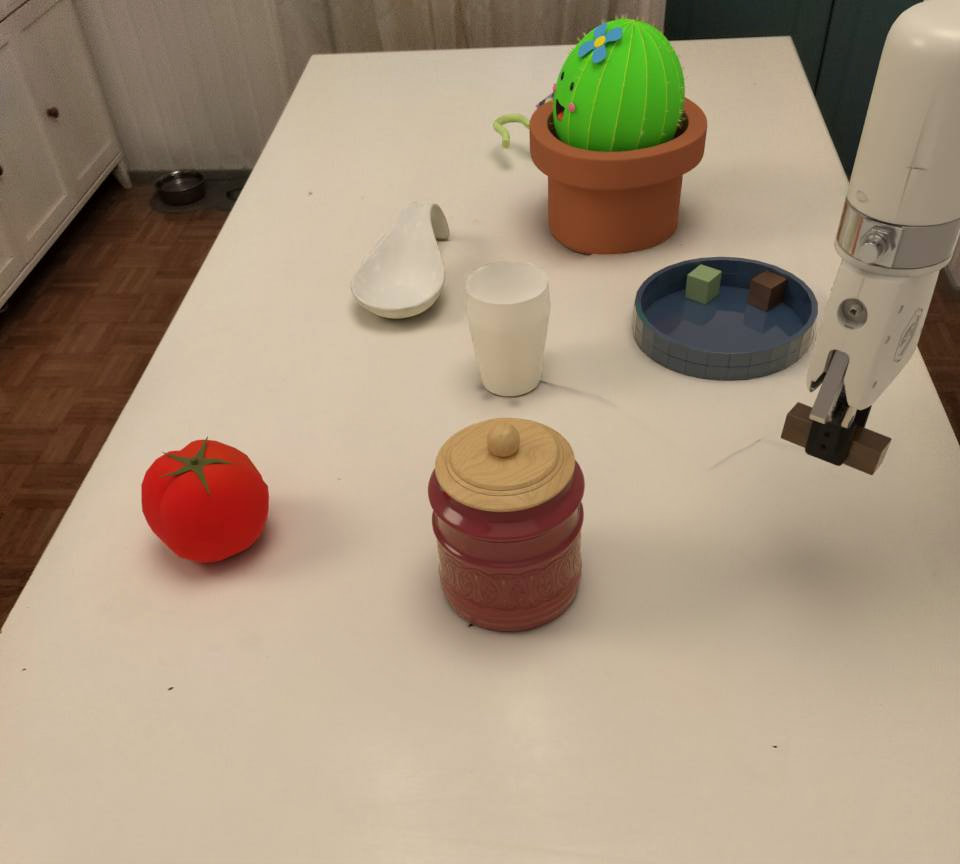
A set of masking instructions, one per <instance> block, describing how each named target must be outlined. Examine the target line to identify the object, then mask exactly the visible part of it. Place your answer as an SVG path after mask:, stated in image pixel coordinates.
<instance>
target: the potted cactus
mask: <svg viewBox="0 0 960 864" xmlns="http://www.w3.org/2000/svg"><path fill="white" fill-rule="evenodd" d="M615 14H616V15H615ZM615 14H614V17H615V19H613V20H610V21H606V20H605V19H604V18H603V17H602V19H601V21H600V22H601V24H599V25H598V26H596V27H595V28H593V29H592V30H590V31H589V32H587V34H586V33H585V32H584V30H583V32H581V34H583V38H582V39H580V38H579V37H577V38H576V40H577V41H579V42H578V43H576V45H575V46H574V47H573V48H572V47H571V45H569V48H567V49H568V51H567V50H566V51H565V52H566V54H567V55H568V56H567V57H566V59H565V61H564V62H563V64H562V66H561V69H560V71H559V74H558V76H557V80H556V83H553V86H552V92H554V99H553V100H551V101H549V102H547V103H545V104H543V105H542V106H540V107H539V108H538V109H537V108H536V109H535V110H534V111H533V113H532V115H531V117H530V119H529V120H530V123H529V129H528V130H529V155H530V158H531V161H532V163H533V164H534V166H535V167H536V168H537V169H538V171H540V172H541V173H542V174H543V175H545V176H546V177H547V223H548V228H549V231H550V232H551V234H552V235H553V237H554V238H555V240H557V241H558V242H559V243H560V244H562V245H563V246H564V247H566V248H568V249H570V250H572V251H573V252H574V251H575V252H577V253H581V254H584V255H589V256H591V255H608V256H609V255H623V254H630V253H636V252H640V251H644V250H647V249H650V248H653V247H656V246H659V245H660V244H662V243H665V242H666V241H667V240H669V239H670V238H671V237H672V236H673V235H674V233H675V232H676V230H677V228H678V223H679V215H680V214H679V213H680V204H681V196H682V195H681V194H682V186H683V177H684V175H685V174H687V173H689V172H691V171H693V170H695V168H696V167H697V166H698V165H699V164H700V163H701V161H702V160H703V158H704V155H705V147H706V141H707V133H708V132H707V131H708V118H707V115H706V114H705V112H704V110H703V109H702V108H701V107H700V106H699V105H698V104H697V103H695V102H694V101H692V100H691V99H690V98H687V97H685V96H686V89H685V88H687V87H688V88H689V85H686V84H685V80H686V79H689V75H686V77H684V71H683V70H685V69H686V68H687V69H688V66H686V65H685V66H684V65H683V67H682V64H681V61H680V59H679V58H681V57H682V55H679V54H677V52H676V49H677V48H678V46H675V47H673V46H672V44H671V42H670V40H669V39H668V38H667V37H666V35H664V32H665V30H661V31H660V30H659V29H658V28H656V27H655V25H656V21H653V23H652V25H651V24H650V23H649V22H648V23H647V22H646V21H645V18H644V16H641V20H639V16H640V14H638V15H636V19H634V18H628V12H626V15H625V16H624V13H621V14H620V18H619V17H618V13H615ZM623 16H624V17H623ZM685 85H686V86H685Z"/></svg>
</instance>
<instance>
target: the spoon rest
mask: <svg viewBox="0 0 960 864" xmlns="http://www.w3.org/2000/svg"><path fill="white" fill-rule="evenodd" d="M450 235H451V234H450V227H449V224H448V220H447V217H446V215H445V213H444V211H443V209H442V208H441V206H440V205H439V204H438V203H436V202H430V203H425V204H424V203H421V202H417V201H411V202H409V203H408V204H406V206H405V207H404V209H402V211H401V212H400V214H399V216H398V217H397V219H396V220H395V221H394V223H393V224H392V225H391V227H390V228H389V229H388V230H387V232H386V233H385V234H384V236H383V237H382V238H381V239H379V241H378V243H377V244H376V245H375V246H374V247H373V248H372V249H371V250H370V251H369V253H368V254H367V255H366V256H365V258H364V259H363V260H362V261H361V263H360V264H359V265H358V267H357V268H356V270H355V271H354V273H353V275H352V277H351V281H350V291H351V294H352V296H353V298H354V299H355V301H356V302H357V303H358V304H359V305H360V306H361V307H362V308H364V309H366V310H367V311H368V312H370V313H372V314H374V315H376V316H379V317H382V318H386V319H405V318H410V317H414V316H417V315H420V314H421V313H424V312H425V311H427V310H428V309H429V308H430V307H432V306H433V305H434V303H435V302H436V301H437V300H438V299H439V297H440V295H441V293H442V292H443V288H444V286H445V282H446V269H445V263H444V260H443V256H442V253H441V249H440V247H439V244H438V241H437V240H445V239H448V238H450V237H451V236H450Z"/></svg>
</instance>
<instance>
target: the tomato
mask: <svg viewBox="0 0 960 864" xmlns="http://www.w3.org/2000/svg"><path fill="white" fill-rule="evenodd" d="M208 438H209V436H208V435H207V436H206V438H205V439H196V440H192V441H190V442H189V443H188V444H186V445H185V446H184V447H183V448H181V449H180V450H179V449H178V450H171V451H170V450H169V451H167V452H164V451H162V455H161V456H159V457H157V458H156V459H154V461H153V462H152V463H151V464H150V466H149V467H148V468H147V469H146V470H145V473H144V476H143V479H142V481H141V484H140V485H141V486H140V488H141V489H140V491H141V496H140V497H141V511H142V513H143V517H144V519H145V521H146V524H147V525H148V526H149V528H150V530H151V531H152V533H153V534H154V535H155V536H156V537H157V538H158V539H159V540H160V541H161V542H162V543H163V544H164V545H165V546H167V548H168V549H169V550H171V552H173V553H174V554H175V555H176V556H177V557H178V558H181V559H185V560H188V561H192V562H196V563H200V564H206V563H216V562H221V561H223V560H226V559H227V558H230V557H232V556H235V555H236V554H239V553H241V552H243V551H246V550H248V549H249V548H250V547H251V546H252V545H253V544H254V543H255V542H256V541H257V540H258V539H259V537H260V536H261V535H262V533H263V530H264V527H265V525H266V523H267V520H268V515H269V508H270V507H269V506H270V492H269V485H268V484H267V483H266V482H265V480H264V479H263V475H262V474H261V473H260V471H259V470H258V468H257V467H256V465H255V464H254V463H253V461H252V460H251V458H250V457H249V456H248V454H246V453H244V452H243V451H241V450H239V449H238V448H236V447H234V446H232V445H229V444H226V443H223V442H221V441H218V440H213V439H208Z"/></svg>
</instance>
